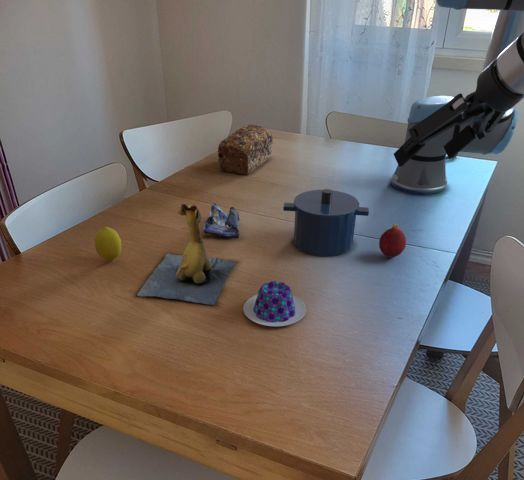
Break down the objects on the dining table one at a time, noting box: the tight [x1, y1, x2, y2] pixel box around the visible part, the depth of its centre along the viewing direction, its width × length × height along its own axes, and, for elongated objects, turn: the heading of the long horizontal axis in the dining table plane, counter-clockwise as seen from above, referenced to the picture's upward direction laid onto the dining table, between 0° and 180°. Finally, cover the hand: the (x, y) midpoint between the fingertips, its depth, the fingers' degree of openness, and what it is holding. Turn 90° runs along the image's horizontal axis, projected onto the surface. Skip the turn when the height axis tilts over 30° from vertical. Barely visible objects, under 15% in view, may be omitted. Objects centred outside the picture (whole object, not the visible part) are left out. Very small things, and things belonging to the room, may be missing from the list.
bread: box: [217, 124, 274, 176], centre depth 167 cm, size 19×11×10 cm, turn 155°
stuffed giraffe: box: [136, 203, 237, 306], centre depth 110 cm, size 16×18×16 cm
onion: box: [378, 223, 407, 259], centre depth 120 cm, size 6×6×8 cm
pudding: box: [242, 280, 307, 327], centre depth 103 cm, size 12×12×5 cm
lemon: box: [94, 226, 123, 262], centre depth 118 cm, size 6×6×8 cm
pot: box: [282, 202, 370, 257], centre depth 125 cm, size 14×19×10 cm
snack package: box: [202, 202, 242, 240], centre depth 132 cm, size 12×6×12 cm
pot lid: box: [293, 188, 360, 218], centre depth 122 cm, size 15×15×4 cm
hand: (423, 156), depth 104 cm, fingers open, 13 cm apart
